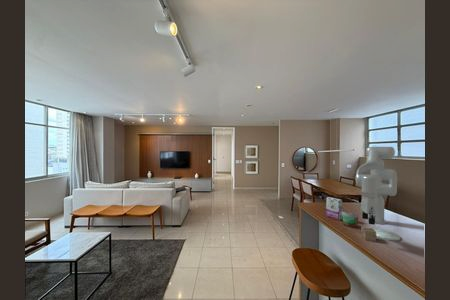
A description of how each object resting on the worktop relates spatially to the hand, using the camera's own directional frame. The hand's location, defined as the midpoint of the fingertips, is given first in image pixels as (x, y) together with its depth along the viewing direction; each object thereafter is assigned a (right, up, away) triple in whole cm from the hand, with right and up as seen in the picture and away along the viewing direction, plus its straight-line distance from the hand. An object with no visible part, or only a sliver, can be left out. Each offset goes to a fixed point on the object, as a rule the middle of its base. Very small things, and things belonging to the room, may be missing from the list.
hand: (368, 221), depth 123 cm
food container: (0, -11, +21) cm, 23 cm away
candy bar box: (-1, -11, +37) cm, 38 cm away
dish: (+15, -11, +5) cm, 19 cm away
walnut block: (0, -11, +1) cm, 11 cm away
